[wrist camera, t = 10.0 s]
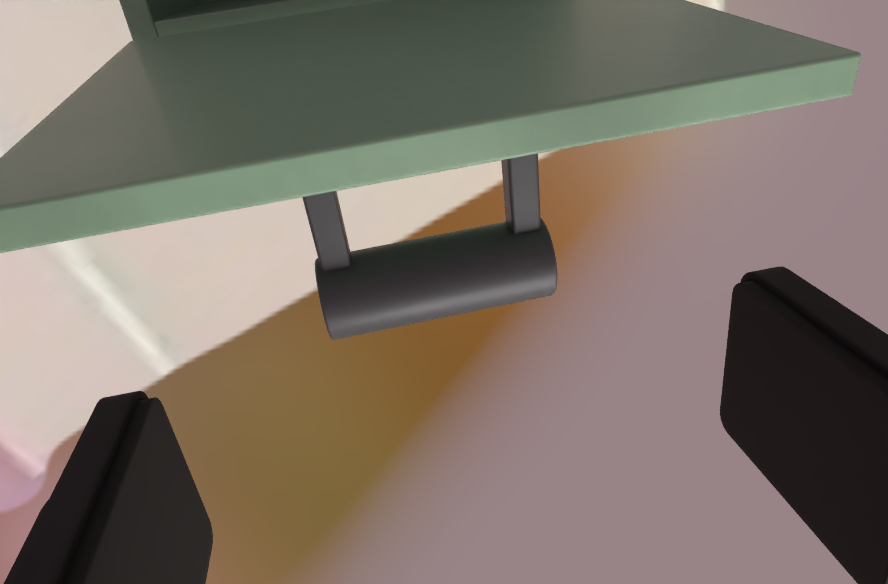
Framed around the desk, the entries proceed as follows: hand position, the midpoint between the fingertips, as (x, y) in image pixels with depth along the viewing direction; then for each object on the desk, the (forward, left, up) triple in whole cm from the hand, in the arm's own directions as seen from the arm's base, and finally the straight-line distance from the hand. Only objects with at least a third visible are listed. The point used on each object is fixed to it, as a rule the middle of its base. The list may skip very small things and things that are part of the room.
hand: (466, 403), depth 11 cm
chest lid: (-4, 0, -10) cm, 11 cm away
